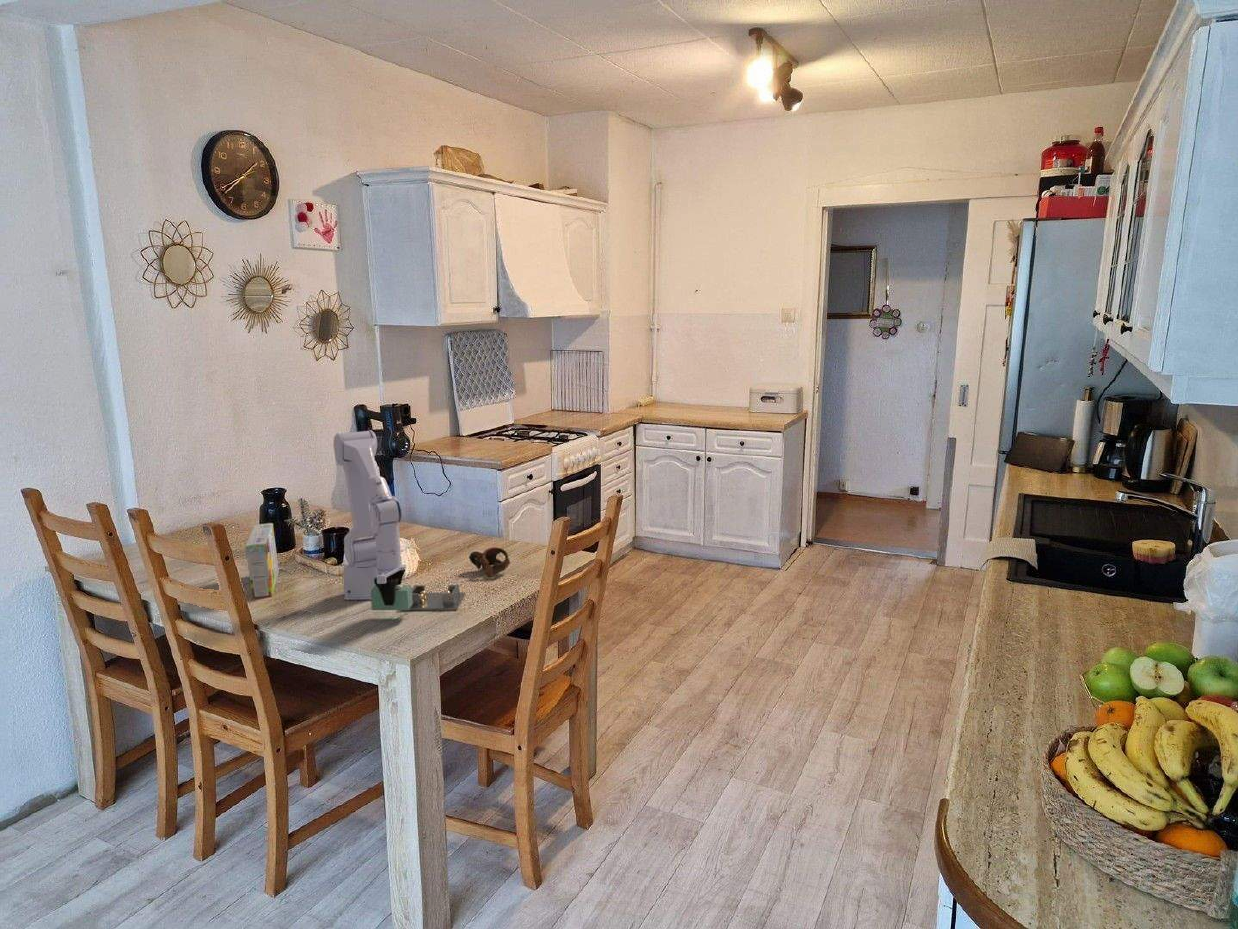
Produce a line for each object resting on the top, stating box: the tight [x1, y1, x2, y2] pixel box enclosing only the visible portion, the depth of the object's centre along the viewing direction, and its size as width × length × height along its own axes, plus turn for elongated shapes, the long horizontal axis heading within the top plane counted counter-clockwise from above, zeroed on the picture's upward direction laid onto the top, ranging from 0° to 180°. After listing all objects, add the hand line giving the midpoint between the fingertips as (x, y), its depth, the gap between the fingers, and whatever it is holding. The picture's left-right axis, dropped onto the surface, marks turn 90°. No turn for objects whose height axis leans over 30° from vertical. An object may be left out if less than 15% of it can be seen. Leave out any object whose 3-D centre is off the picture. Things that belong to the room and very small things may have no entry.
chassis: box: [401, 584, 466, 612], centre depth 209 cm, size 14×11×4 cm
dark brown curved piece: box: [468, 546, 511, 578], centre depth 232 cm, size 12×10×8 cm
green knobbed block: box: [370, 584, 413, 611], centre depth 199 cm, size 9×4×6 cm, turn 90°
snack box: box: [245, 522, 280, 599], centre depth 223 cm, size 21×6×15 cm, turn 18°
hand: (391, 601), depth 199 cm, fingers closed on green knobbed block, 4 cm apart
